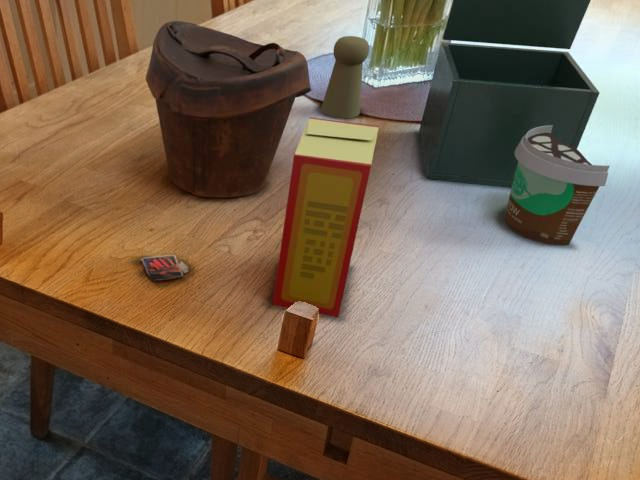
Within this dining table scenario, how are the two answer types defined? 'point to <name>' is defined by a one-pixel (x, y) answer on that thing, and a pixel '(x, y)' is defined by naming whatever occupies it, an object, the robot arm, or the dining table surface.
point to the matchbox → (164, 267)
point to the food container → (550, 188)
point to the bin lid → (516, 22)
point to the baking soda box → (323, 212)
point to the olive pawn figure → (346, 78)
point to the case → (221, 106)
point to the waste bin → (498, 109)
